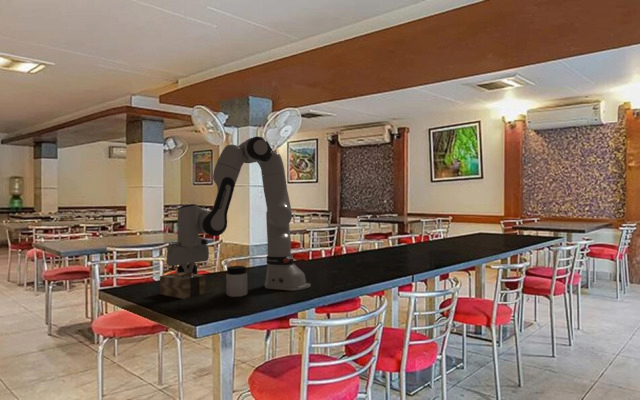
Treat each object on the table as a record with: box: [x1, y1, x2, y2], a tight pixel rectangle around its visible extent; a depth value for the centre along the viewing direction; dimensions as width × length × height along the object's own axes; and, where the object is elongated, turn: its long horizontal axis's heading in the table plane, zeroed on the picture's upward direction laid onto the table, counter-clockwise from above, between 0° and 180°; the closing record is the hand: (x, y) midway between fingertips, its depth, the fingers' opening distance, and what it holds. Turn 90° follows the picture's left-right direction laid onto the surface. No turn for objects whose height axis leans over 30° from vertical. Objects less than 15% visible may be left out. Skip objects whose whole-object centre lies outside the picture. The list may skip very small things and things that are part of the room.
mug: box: [176, 264, 198, 274], centre depth 224 cm, size 9×12×9 cm
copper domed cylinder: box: [184, 273, 194, 278], centre depth 202 cm, size 4×4×8 cm
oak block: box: [159, 272, 207, 300], centre depth 204 cm, size 16×12×8 cm
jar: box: [225, 265, 248, 298], centre depth 202 cm, size 9×8×12 cm
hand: (188, 273), depth 202 cm, fingers closed, pressing on copper domed cylinder
